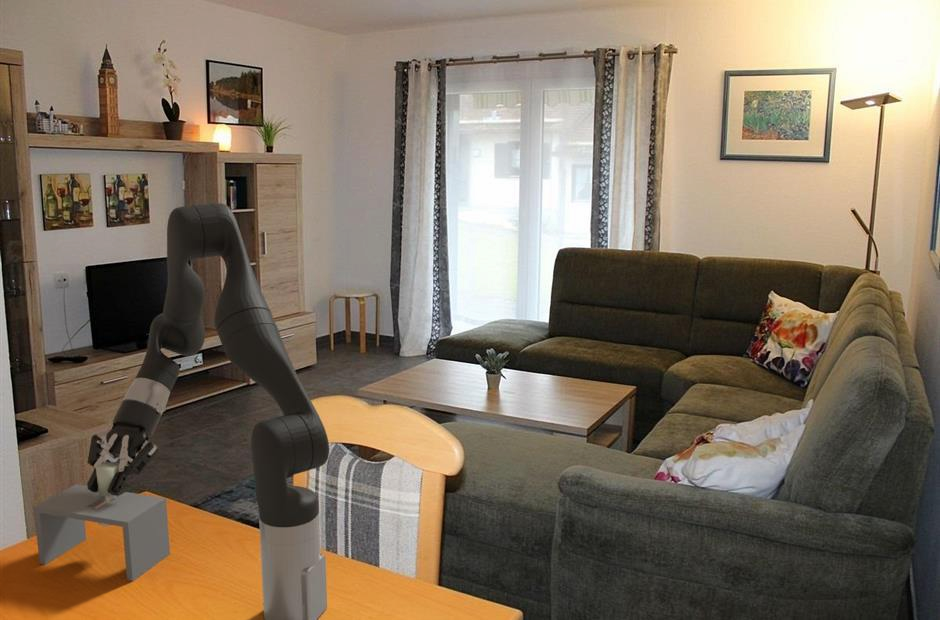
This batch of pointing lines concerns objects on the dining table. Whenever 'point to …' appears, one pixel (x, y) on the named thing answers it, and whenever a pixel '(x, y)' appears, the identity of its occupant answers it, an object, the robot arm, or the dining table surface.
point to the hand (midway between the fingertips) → (102, 491)
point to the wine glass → (106, 480)
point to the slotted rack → (134, 512)
